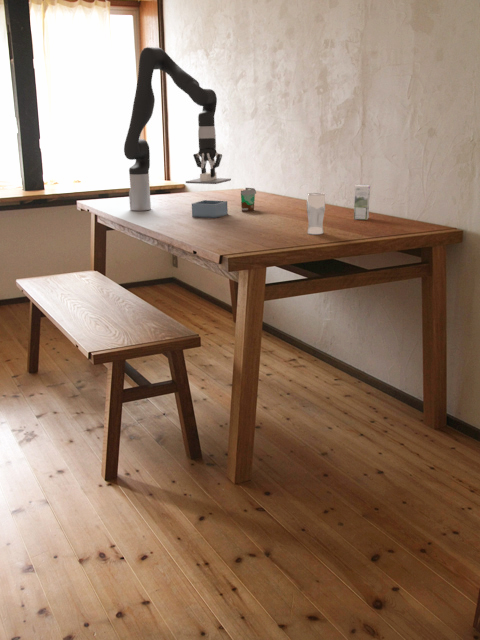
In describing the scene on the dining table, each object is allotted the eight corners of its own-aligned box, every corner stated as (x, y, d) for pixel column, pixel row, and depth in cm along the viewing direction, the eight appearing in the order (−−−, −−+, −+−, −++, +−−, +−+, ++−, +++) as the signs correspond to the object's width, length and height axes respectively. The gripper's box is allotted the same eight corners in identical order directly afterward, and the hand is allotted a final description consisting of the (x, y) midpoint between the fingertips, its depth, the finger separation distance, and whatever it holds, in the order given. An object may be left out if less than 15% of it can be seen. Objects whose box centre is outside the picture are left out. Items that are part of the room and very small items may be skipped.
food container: (253, 212, 298) (253, 190, 295) (241, 212, 299) (240, 190, 296) (258, 208, 309) (258, 187, 306) (246, 208, 310) (245, 187, 307)
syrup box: (368, 218, 276) (370, 184, 272) (366, 220, 271) (368, 185, 267) (355, 217, 278) (356, 183, 274) (353, 219, 273) (354, 185, 268)
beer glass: (304, 232, 248) (305, 193, 244) (322, 231, 249) (323, 192, 244) (308, 235, 242) (308, 195, 237) (326, 234, 242) (327, 194, 237)
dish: (192, 216, 289) (191, 203, 287) (204, 213, 299) (204, 200, 297) (215, 218, 284) (215, 204, 282) (227, 214, 294) (227, 201, 292)
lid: (185, 183, 283) (185, 174, 282) (201, 179, 296) (201, 171, 295) (215, 184, 277) (215, 175, 276) (230, 180, 290) (230, 171, 289)
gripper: (188, 137, 280) (190, 177, 285) (217, 137, 274) (218, 178, 280) (197, 136, 287) (198, 176, 292) (225, 136, 281) (226, 176, 286)
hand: (208, 176), depth 286 cm, fingers closed on lid, 3 cm apart
